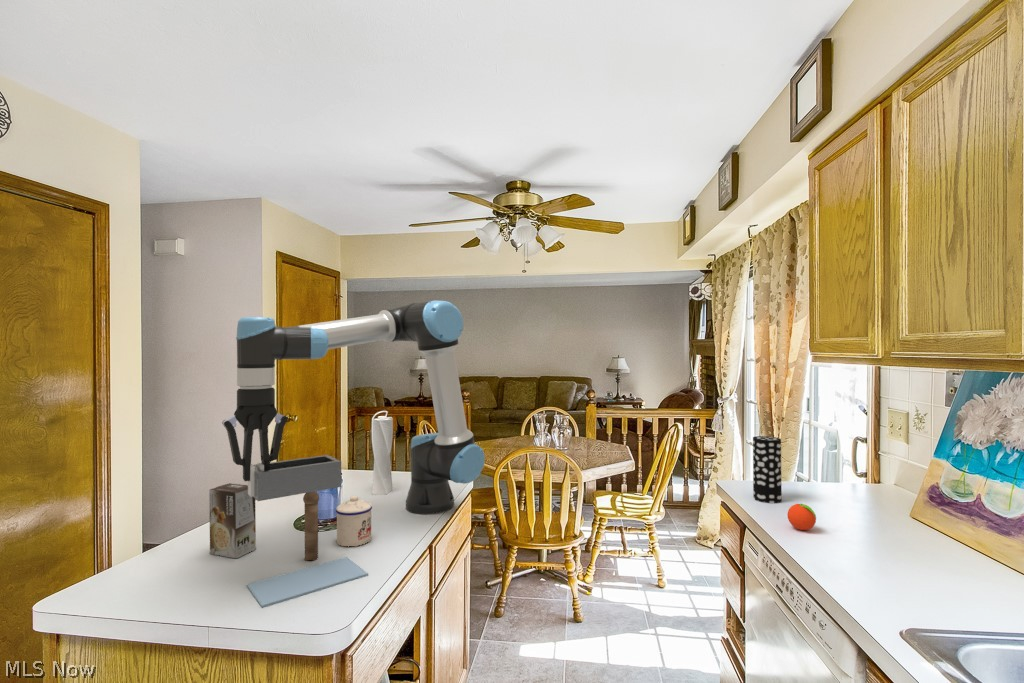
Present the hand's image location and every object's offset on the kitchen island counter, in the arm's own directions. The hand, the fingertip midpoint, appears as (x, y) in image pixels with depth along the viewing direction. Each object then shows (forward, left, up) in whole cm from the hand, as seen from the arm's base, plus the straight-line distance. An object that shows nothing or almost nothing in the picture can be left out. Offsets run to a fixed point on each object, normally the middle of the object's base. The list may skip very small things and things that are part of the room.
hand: (255, 494), depth 114 cm
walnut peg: (-13, -3, -19) cm, 23 cm away
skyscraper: (-52, -44, -19) cm, 71 cm away
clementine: (-123, +66, -19) cm, 140 cm away
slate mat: (-9, +8, -19) cm, 22 cm away
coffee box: (0, -20, -19) cm, 28 cm away
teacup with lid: (-27, -8, -19) cm, 34 cm away
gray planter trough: (-8, 0, 0) cm, 8 cm away
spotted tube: (-144, +47, -19) cm, 152 cm away
